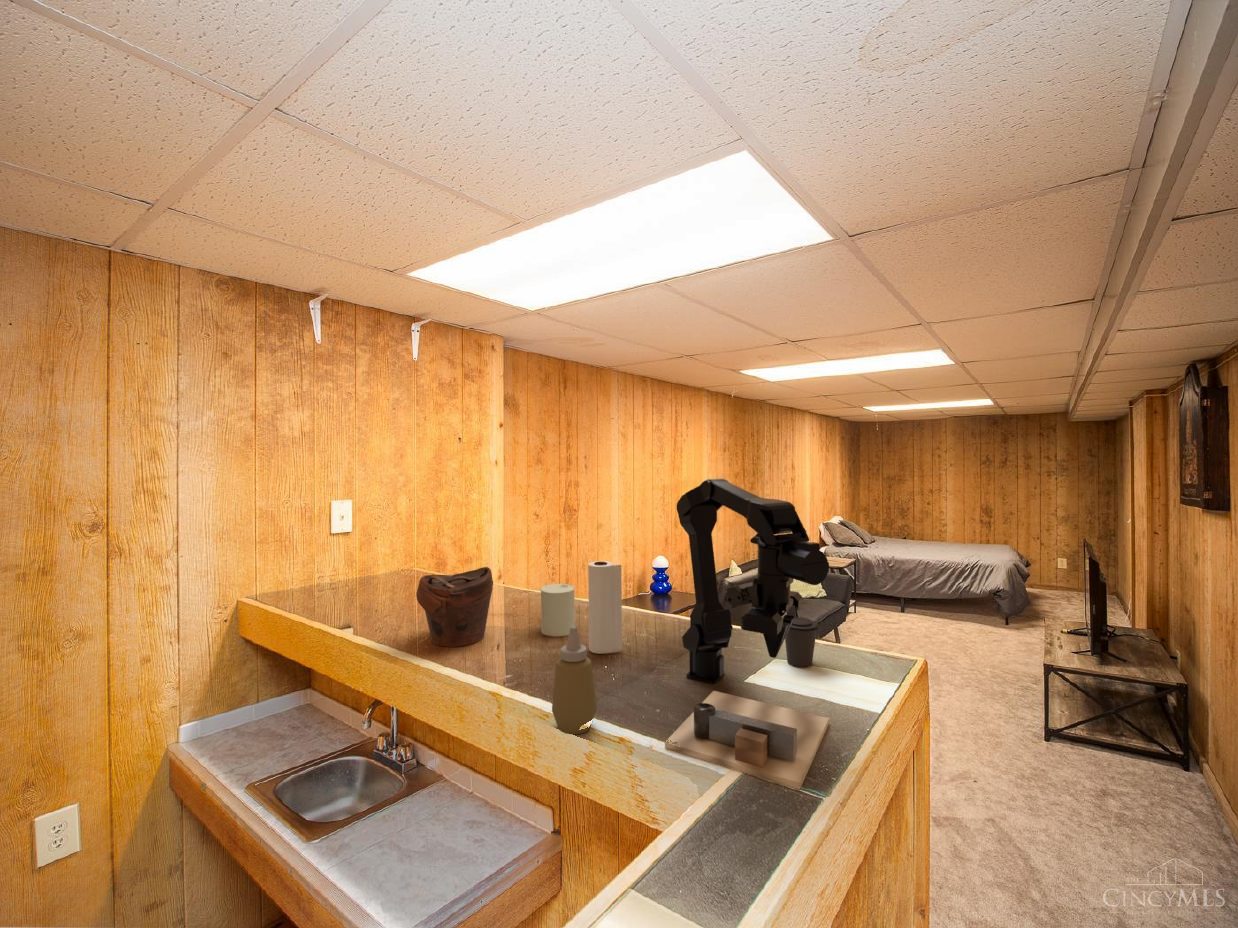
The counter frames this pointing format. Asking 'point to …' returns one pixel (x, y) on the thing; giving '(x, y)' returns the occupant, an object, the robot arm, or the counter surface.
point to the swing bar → (727, 725)
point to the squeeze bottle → (573, 687)
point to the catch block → (751, 747)
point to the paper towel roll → (605, 607)
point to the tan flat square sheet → (775, 767)
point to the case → (456, 606)
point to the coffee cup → (801, 642)
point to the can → (557, 609)
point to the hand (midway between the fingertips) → (773, 656)
